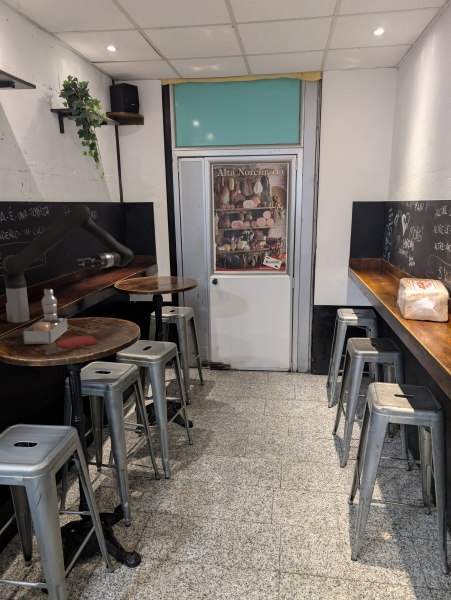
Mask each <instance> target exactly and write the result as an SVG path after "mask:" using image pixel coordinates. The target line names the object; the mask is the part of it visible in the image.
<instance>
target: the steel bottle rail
mask: <svg viewBox="0 0 451 600" xmlns="http://www.w3.org/2000/svg"><path fill="white" fill-rule="evenodd" d="M57 318H58V317H57ZM39 322H44V318H41V319H39V320H38V321H37V322H36V323H39ZM58 323H59V324H50V331H33V324H32V325H31V326H29V327H28V328H26V329H24V330H23V331H22V334H23V335H22V337H23V344H24V345H44V344H45V345H51V344H53V343H54V342H56V340H57V339H58V338H60V337H61V336H62V335H63V334H64V333H65V332H67V331H68V326H69V325H68V318H64V317H63V318H62V317H61V318H60V317H59V318H58Z"/></svg>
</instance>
